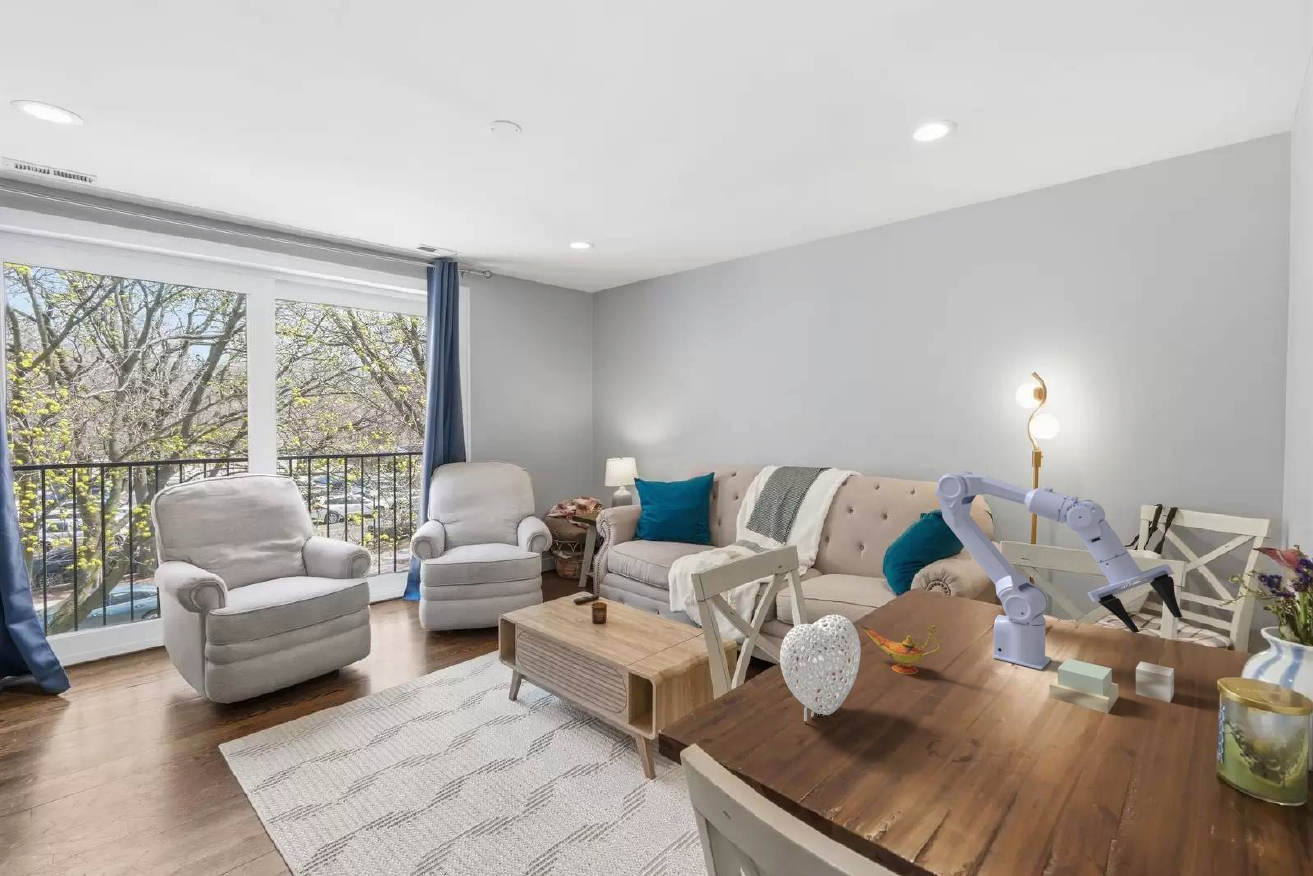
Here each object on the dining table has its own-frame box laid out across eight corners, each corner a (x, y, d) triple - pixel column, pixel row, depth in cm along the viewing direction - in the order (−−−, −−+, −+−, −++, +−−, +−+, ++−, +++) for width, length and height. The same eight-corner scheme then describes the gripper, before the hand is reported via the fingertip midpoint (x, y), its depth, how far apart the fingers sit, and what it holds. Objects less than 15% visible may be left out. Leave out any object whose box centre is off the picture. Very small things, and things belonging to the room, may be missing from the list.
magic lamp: (866, 651, 138) (866, 603, 137) (947, 675, 124) (946, 622, 124) (850, 659, 133) (850, 610, 133) (932, 685, 119) (932, 630, 119)
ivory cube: (1135, 694, 114) (1135, 668, 114) (1140, 686, 118) (1140, 661, 118) (1169, 703, 111) (1170, 676, 111) (1173, 694, 114) (1174, 668, 114)
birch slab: (1049, 700, 114) (1049, 684, 113) (1062, 685, 120) (1062, 670, 120) (1107, 716, 107) (1107, 699, 107) (1118, 700, 113) (1118, 684, 113)
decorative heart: (827, 690, 118) (826, 603, 117) (876, 710, 109) (875, 617, 109) (765, 718, 107) (764, 623, 106) (814, 743, 98) (813, 640, 98)
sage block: (1057, 684, 114) (1057, 668, 114) (1067, 673, 118) (1067, 658, 118) (1102, 696, 108) (1102, 679, 108) (1111, 684, 113) (1111, 668, 113)
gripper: (1080, 571, 117) (1123, 640, 112) (1159, 541, 113) (1207, 610, 109) (1071, 572, 123) (1112, 637, 118) (1145, 543, 120) (1191, 609, 115)
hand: (1157, 624), depth 114 cm, fingers open, 7 cm apart
